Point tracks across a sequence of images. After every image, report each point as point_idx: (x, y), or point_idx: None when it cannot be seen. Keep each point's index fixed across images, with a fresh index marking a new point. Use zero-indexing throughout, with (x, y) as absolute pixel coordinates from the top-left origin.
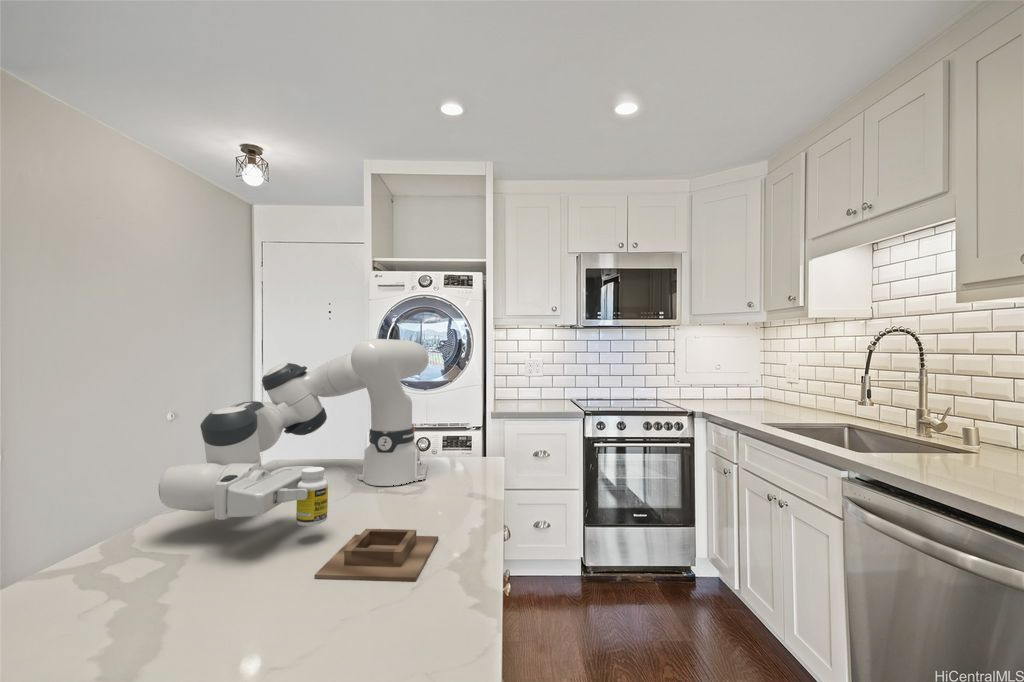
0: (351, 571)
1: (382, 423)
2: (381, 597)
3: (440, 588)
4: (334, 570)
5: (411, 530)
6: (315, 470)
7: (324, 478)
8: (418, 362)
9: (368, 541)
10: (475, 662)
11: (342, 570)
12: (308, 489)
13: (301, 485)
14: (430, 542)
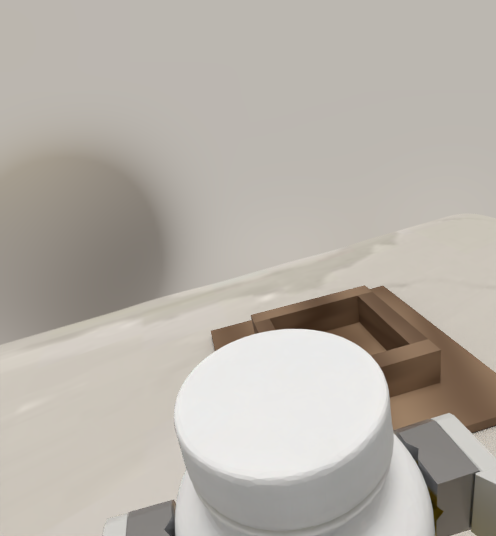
0: (447, 354)
1: None
2: (458, 296)
3: (378, 270)
4: (476, 383)
5: (258, 318)
6: (304, 347)
7: (128, 514)
8: None
9: None
10: (468, 217)
11: (460, 370)
12: (409, 425)
13: (419, 488)
14: (244, 327)
